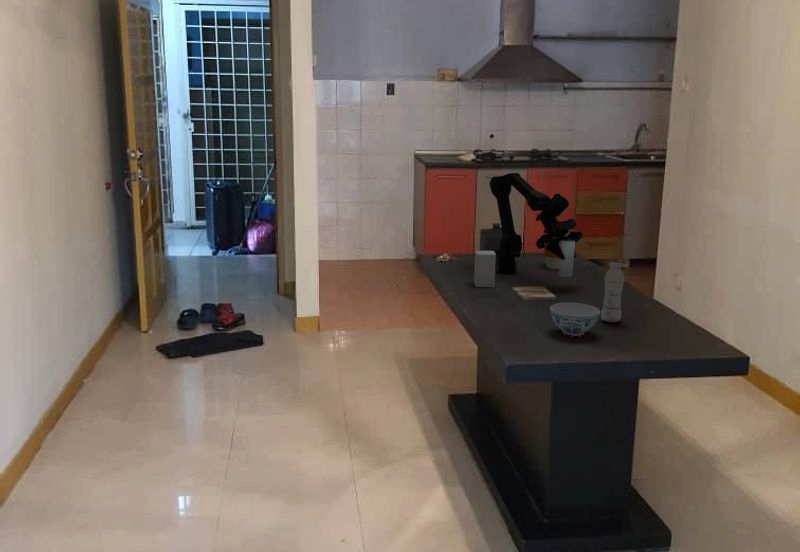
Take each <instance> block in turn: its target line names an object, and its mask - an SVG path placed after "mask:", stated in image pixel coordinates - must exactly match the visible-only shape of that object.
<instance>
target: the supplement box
mask: <svg viewBox="0 0 800 552" xmlns="http://www.w3.org/2000/svg"><path fill="white" fill-rule="evenodd" d="M495 264H496V254H495V252H494V251H479V250H475V253H474V274H473V284H474V287H475V288H476V287H477V288H479V287H480V288H495V283H496V282H495V281H496V267H495Z"/></svg>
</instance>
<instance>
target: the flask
mask: <svg viewBox="0 0 800 552" xmlns="http://www.w3.org/2000/svg"><path fill="white" fill-rule="evenodd" d="M479 230H480V231H479V249H478V251H494V252H496V250H497V249H498V248H499V247H500V240H501V237H502V234H503V233H502V227H501V223H498V222H497V223H496V222H493V223H492V228H490V227H489V228H480V229H479ZM495 254H496V253H495ZM495 266H496V267H499V258H498V257H496V264H495Z"/></svg>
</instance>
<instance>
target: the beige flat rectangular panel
mask: <svg viewBox="0 0 800 552" xmlns="http://www.w3.org/2000/svg"><path fill="white" fill-rule="evenodd" d="M511 290H512V291H513V293H515V294H516V295H517V296H518V297H519V296H520V297H519V298H521V300H522V301H556V300H557V296H556V295H555V294H553V293H552V292H551V291H550V290H549V289H547V288H546V287H544V286H543V285H542V286H541V285H540V286H538V285H537V286H535V285H534V286H512V287H511ZM550 299H552V300H550ZM555 299H556V300H555Z"/></svg>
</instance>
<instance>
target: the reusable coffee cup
mask: <svg viewBox="0 0 800 552" xmlns="http://www.w3.org/2000/svg"><path fill="white" fill-rule="evenodd" d="M572 231H573V230H568V233H567V234H565V235H566V236H568V235H569V234H570V233H571V232H572ZM545 234H547V233H544V234H543V235H545ZM559 246H560V248H561V242H559ZM546 247H547V246H546V243H545V247H544V248H543V249H544V256H545V264H546V265H545V266H546V268H547V267H548V269H551V270H557V269H559V263H560V258H559V257H558V256H556V255H555V254H553V253H552V252H550V251H548V250H546V249H545V248H546Z"/></svg>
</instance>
